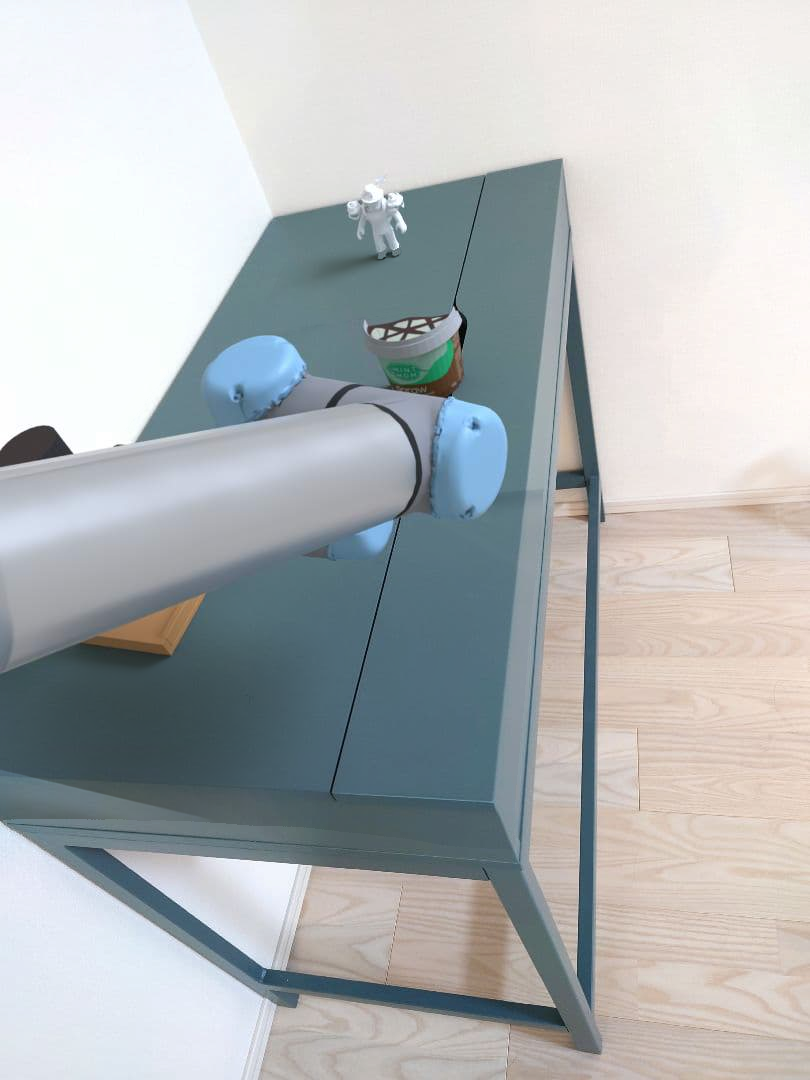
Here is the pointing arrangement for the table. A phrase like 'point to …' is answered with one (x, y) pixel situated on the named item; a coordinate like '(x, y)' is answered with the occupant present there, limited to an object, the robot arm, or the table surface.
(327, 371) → the table surface
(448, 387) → the food container
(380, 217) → the blocky character figurine
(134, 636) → the serving tray
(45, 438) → the deodorant
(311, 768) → the table surface
